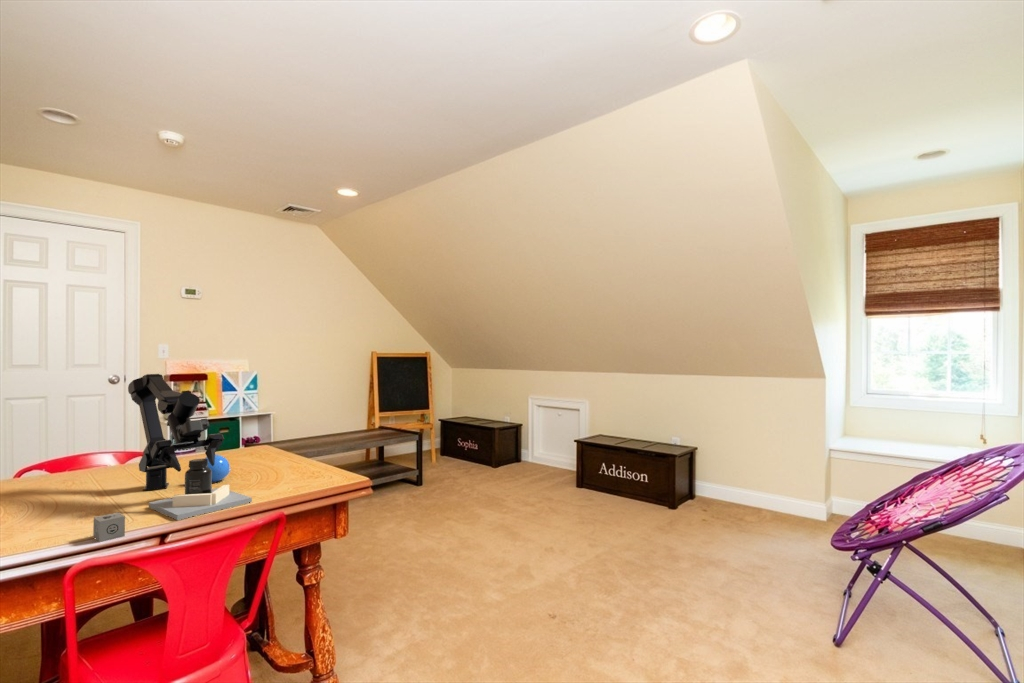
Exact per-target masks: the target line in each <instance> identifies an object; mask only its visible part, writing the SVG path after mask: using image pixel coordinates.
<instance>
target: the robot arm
mask: <svg viewBox="0 0 1024 683" xmlns="http://www.w3.org/2000/svg"><path fill="white" fill-rule="evenodd" d="M127 386H128V387H127V391H128V394H130V397H131V400H132V401H133V402H134V403H135V404H136V405H138V407H139V411H140V416H141V421H142V425H143V430H144V436H145V439H146V444H145V445H146V446H145V447H144V450H143V451H142V457H141V459H140V460H139V463H138V469H139V472H142V473H145V486H144V488H143V489H142V492H144V491H145V492H146V491H153V490H163V489H167V488H168V486H169V485H170V482H167V481H168V480H167V473H168V471H167V470H168V469H174V470H175V471H177V473H178V472H180V473H181V471H182V467H181V464H180V461H179V460H178V457H177V455H176V451H180V450H188V449H189V450H191V449H198V448H203V450H204V451H205V452H204V453H205V456H206V457H207V458H208V460H209V462H210V464H211V465H212V466H214V464H215V455H216V452H217V451H218V450H219V449H220V448H221V446H222V444H223V443H224V441H225V437H224V434H222V433H219V432H217V433H211V434H207V437H206V438H205V439H202V440H199V439H200V438H201V436H202V434H201V433H202V432H204V431H207V430H209V429H210V421H209V419H208V418H201V419H200V420H194V421H193V420H191V417H193V416H194V415H195V413H196V411H197V408H198V406H199V405H200V402H201V399H200V397H199V396H198V395H196V394H194V393H191V392H190V390H182V391H181V392H177V391H175V390H173V389H172V388H171V386H170V385H169V384H168V383H167V381H166V380H165V379H164V376H163V375H162V374H160V373H147V374H144V375H142V376H141V377H139V378H136V379H133V380H132V381H131V382H130V383H129V384H128V385H127ZM156 399H157V402H156ZM159 412H160V413H161V415H168V416H167V422H166V426H167V427H169V428H170V431H171V433H172V435H171V439H172V440H174V442H175V443H173V442H172V440H171V439H165V437H164V433H163V430H162V426H161V420H160V416H159Z"/></svg>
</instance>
